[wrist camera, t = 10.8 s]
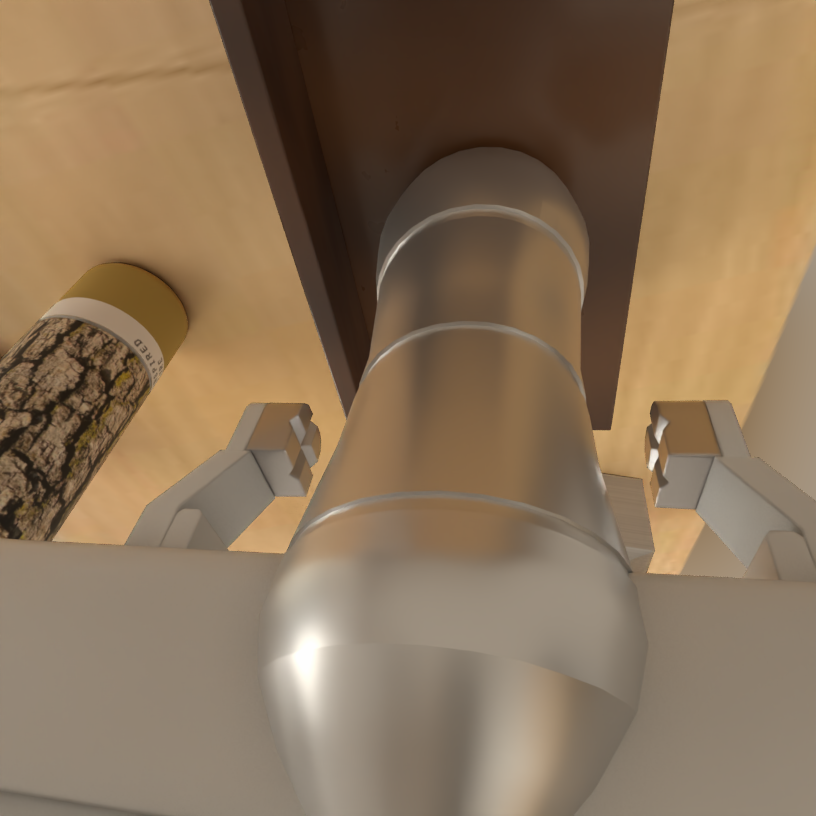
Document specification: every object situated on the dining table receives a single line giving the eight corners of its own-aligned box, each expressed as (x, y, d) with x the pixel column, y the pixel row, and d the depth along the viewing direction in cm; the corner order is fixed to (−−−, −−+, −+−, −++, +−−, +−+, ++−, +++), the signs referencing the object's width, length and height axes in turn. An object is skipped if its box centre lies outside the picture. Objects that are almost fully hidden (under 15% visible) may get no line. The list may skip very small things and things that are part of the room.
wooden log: (169, 257, 33) (-212, 721, 16) (206, 347, 38) (-57, 777, 21) (66, 256, 34) (-396, 690, 17) (115, 343, 39) (-207, 750, 22)
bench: (317, -135, 20) (172, -107, 12) (644, -205, 18) (746, -231, 10) (403, 319, 34) (364, 477, 26) (594, 312, 32) (618, 483, 24)
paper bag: (567, 521, 46) (575, 643, 40) (591, 471, 42) (604, 600, 35) (613, 528, 46) (628, 651, 39) (642, 479, 41) (665, 609, 34)
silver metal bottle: (372, 276, 21) (115, 1081, 8) (421, 89, 17) (-39, 1372, 3) (531, 324, 22) (548, 1148, 8) (623, 159, 17) (1019, 1481, 4)
